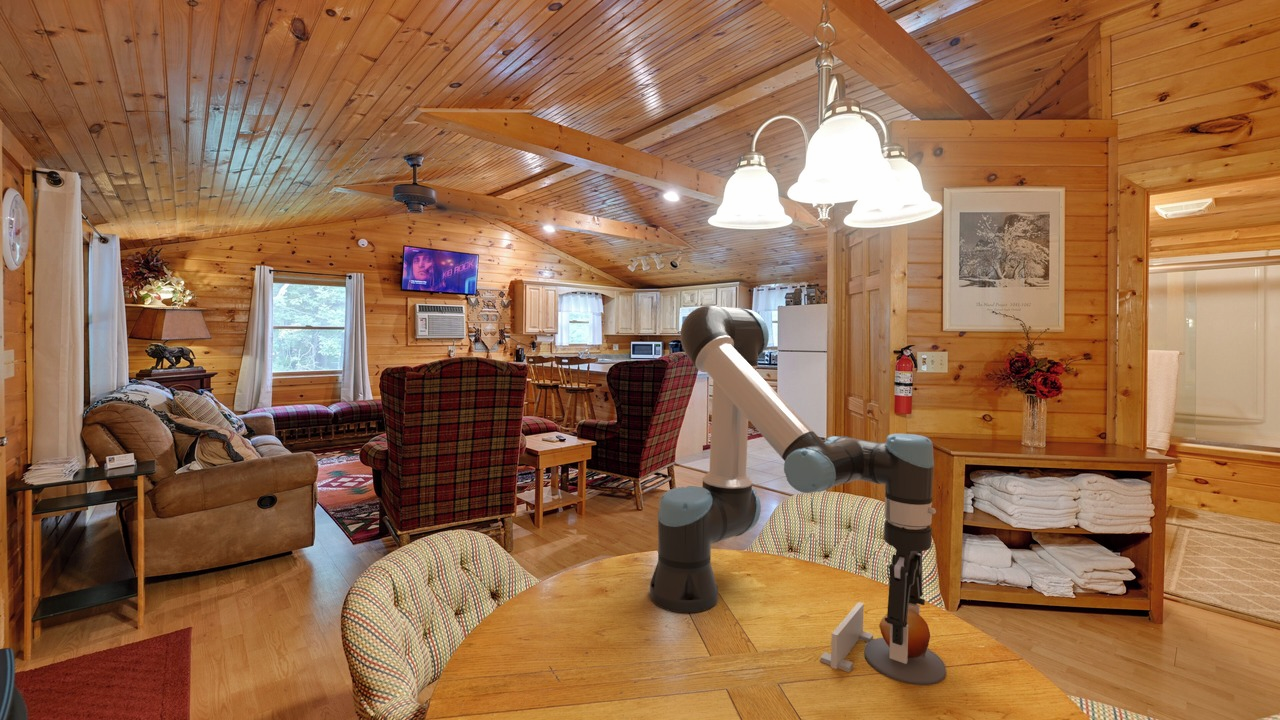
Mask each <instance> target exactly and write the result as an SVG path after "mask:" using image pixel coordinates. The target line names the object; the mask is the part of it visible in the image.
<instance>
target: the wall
mask: <svg viewBox="0 0 1280 720" xmlns="http://www.w3.org/2000/svg"><path fill="white" fill-rule="evenodd" d="M864 605H865V603H863V602H860V601H858V602H857V603H856V604H855V605H854V606H853V607H852V609H851V610H850V611H849V613H847V615H845V617H844V618H843V619H842V620H841V622H840V623H839V624H838V626H836V628H834V630H833V631H832V632H831V642H830V644H831V645H830V646H831V648H830V653H828V652H825V651H824V652H823V653H822V655H820V662H821V663H823V664H827V665H828V666H830V668H833V669H835V670H838V669H839V670H841V671H844V672H846V673H850V672H851V671H852V669H854V663H853V662H852V661H849V660H847V659H846V657H847V656H848V654H849V653H850V652H851V651H852V649H853V648H854V646H855V645H856V644H857V643H858V641H859V640H860V641H863V642H866V643H868V642H869V641H871V640H873V639H874V633H873V634H872V633H870V632H868V631H864V611H865V610H864V609H865V608H864Z"/></svg>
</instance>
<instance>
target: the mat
mask: <svg viewBox="0 0 1280 720" xmlns="http://www.w3.org/2000/svg"><path fill="white" fill-rule="evenodd" d="M863 649H864V651H863V652H864V658H865V660H866V662H867V664H869V666H871V667H872V669H874V670H876V671H877V672H879V673H880V674H881V675H883V676H885V677H887V678H889V679H891V680H892V679H893V680H895V681H898V682H902V683H905V684H910V685H917V686H930V685H931V686H932V685H936V684H938V683H941V682H942V681H943V680H944V679H945V678H946V673H947V672H946V665H945V663H944V661H943V659H942V658H941V657H940V656H939V655H937V654H936V653H935V652H933V651H932V650H931V649H929V648H927V650H926V654H925V657H923V656H920V657H916V658H908V660H907V664H905V663H902V662H899V661H896V660H893V659H890V658H889V654H890V647H889V646H888V645H887V643H886V642H885V640H884V638H883V637H878V638H875V639H874V638H873V639H872V640H871V641H869V642H866V643H865V646H864V648H863Z"/></svg>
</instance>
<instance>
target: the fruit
mask: <svg viewBox="0 0 1280 720" xmlns="http://www.w3.org/2000/svg"><path fill="white" fill-rule="evenodd" d="M885 617H886V618H887V613H886V614H885V615H884V616H883V617H882V618H881V620H880V622H879V630H880V633H881V636H882V638H884V640H885V642H886V643H887V645H888V646H889V647H890V624H889V623H887V621H885ZM907 624H908V658H916V657H920V656H923V657H925V654H926V650H927V649H929V648H928V647H929V644H930V639H931V632H930V629H929V625H928V622H926V620H925V619H924V618H923V616H921V614H920V615H919V614H918V613H916V612H915V611H912V610H908V614H907Z"/></svg>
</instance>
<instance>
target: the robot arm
mask: <svg viewBox="0 0 1280 720" xmlns="http://www.w3.org/2000/svg"><path fill="white" fill-rule="evenodd" d="M679 335H680V337H679V338H680V342H681V346H682V349H683V352H684V353H685V355H686V356H687V358H688V359H689V361H690V362H691V363H692V365H693V366H694V367H695V368H696V369H697V370H698V371H700V372H703V373H707V374H708V375H709V376H710V378H711V379H712V380H713V381H712V382H713V383H712V400H711V401H712V403H711V424H710V425H711V427H710V446H709V447H710V448H709V450H710V452H709V471H708V472H707V473H706V474H705V475H704V476H703V477H702V486H696V485H688V486H677V487H673V488H672V489H668V490H667V491H665V493H663V494H662V495H661V497H660V499H659V502H658V503H659V504H658V506H659V507H658V511H657V522H658V525H657V529H658V531H657V533H658V534H657V535H658V536H657V537H658V542H657V543H658V544H657V545H658V546H657V563H656V565H655V568H654V572H653V575H652V577H651V581H650V583H649V598H650V600H651V601H652V603H654V604H655V605H656V606H658V607H659V608H661V609H664V610H666V611H669V612H675V613H684V614H685V613H687V614H689V613H690V614H691V613H699V612H703V611H707V610H710V609H711V608H713V607H714V606H715V605H716V604H717V603H718V600H719V587H718V584H717V581H716V577H715V574H714V571H713V567H712V563H711V559H712V558H711V557H712V555H711V554H712V553H711V551H712V550H711V549H712V545H713V544H716V543H718V542H722V541H725V540H727V539H730V538H733V537H739V536H742V535H743V534H746V532H749V531H750V530H752V529H753V528H754V527H755V526H756V525H757V524H758V521H759V520H760V517H761V512H762V511H761V510H762V505H761V501H760V500H761V499H760V497H759V496H758V495H757V491H756V490H755V488H754V487H753V480H751V478H750V477H749V476H748V474H747V458H748V457H747V456H748V437H749V422H750V424H751V425H752V426H753V427H754V428H755V429H756V430H757V431H758V432H759V433H760V435H761V436H762V437H763V438H764V440H765V441H766V442H767V443H768V444H769V445H770V446H771V447H772V448H773V450H774V451H775V452H776V453H777V454H778V455H779V457H781V459H782V460H783V461H784V464H783V472H784V474H785V477H786V481H787V482H788V484H789V485H790V487H792V488H793V489H795V490H796V491H798V492H800V493H804V494H812V493H820V492H821V493H822V492H825V491H826V490H828V489H830V488H834V487H836V486H839V485H840V486H841V485H844V484H848V483H851V482H854V481H863V482H869V483H873V484H878V485H884V490H885V492H884V493H885V494H884V516H883V517H884V518H885V521H884V523H883V524H884V525H883V526H884V527H883V528H884V529H883V538H884V539H883V540H884V541H885V543H886V544H887V545H889V546H890V547H893V548H894V549H895V554H893V555H892V559H891V563H890V564H889V583H888V584H889V585H888V598H887V599H888V600H887V601H888V602H887V613H886V614H887V618H886V617H885V621H887V623H889V624H890V654H889V658H890V659H893V660H896V661H899V662H902V663H905V664H907V660H908V624H907V614H908V610H912V611H915V612H916V613H918V614H919V615H920V616H921V614H920V612H921V611H920V610H921V607H920V606H925V603H926V602H925V601H926V600H925V599H924V598H923V595H924V592H923V552H926V551H928V550H930V549H931V548H932V540H933V539H932V538H933V537H932V534H933V533H932V532H933V529H932V527H931V526H930V525H931V524H932V522H933V521H932V520H933V519H932V518H933V515H934V514H936V513H937V510H936V508H934V507H932V506H933V489H934V485H933V484H934V469H935V468H934V467H935V462H934V445H933V444H934V443H933V441H932V440H931V439H930V438H929V437H927V436H924V435H919V434H913V433H910V434H908V433H891V434H888V435H887V436H886V441H885V442H877V441H870V440H867V439H866V440H865V439H859V438H854V437H853V438H852V437H850V436H835V435H834V436H829V437H828V438H826V440H825V441H824V440H823V439H821V438H820V437H819V435H817V434H816V433H815V431H813V430H812V429H811V427H810V426H809V425H808V424H807V423H806V422H805V421H804V420H803V419H802V418H801V417H800V416H799V415H798V413H796V412H795V410H794V409H792V407H791V406H790V405H789V404H788V403H787V402H786V401H785V400H784V399H783V398H782V397H781V395H779V394H778V393H777V392H776V390H775V389H773V387H772V386H771V385H770V384H769V383H768V382H767V381H766V380H765V379H764V378H763V377H762V376H761V375H760V374H759V372H757V370H756V369H757V368H758V362H759V360H758V359H759V357H760V356H761V355H762V354H763V353H764V351H765V350H766V349H767V347H768V344H769V337H770V336H769V335H770V334H769V329H768V326H767V322H766V321H765V320H764V319H763V318H762V316H761V315H760V314H759V313H757V312H756V311H754V310H751V309H746V308H744V307H731V306H729V307H728V306H714V305H705V306H700V307H697V308H695V309H694V310H692V311H691V312H690V313H688V314H687V316H686V317H685V319H684V320H683V322H682V324H681V328H680V334H679Z"/></svg>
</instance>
